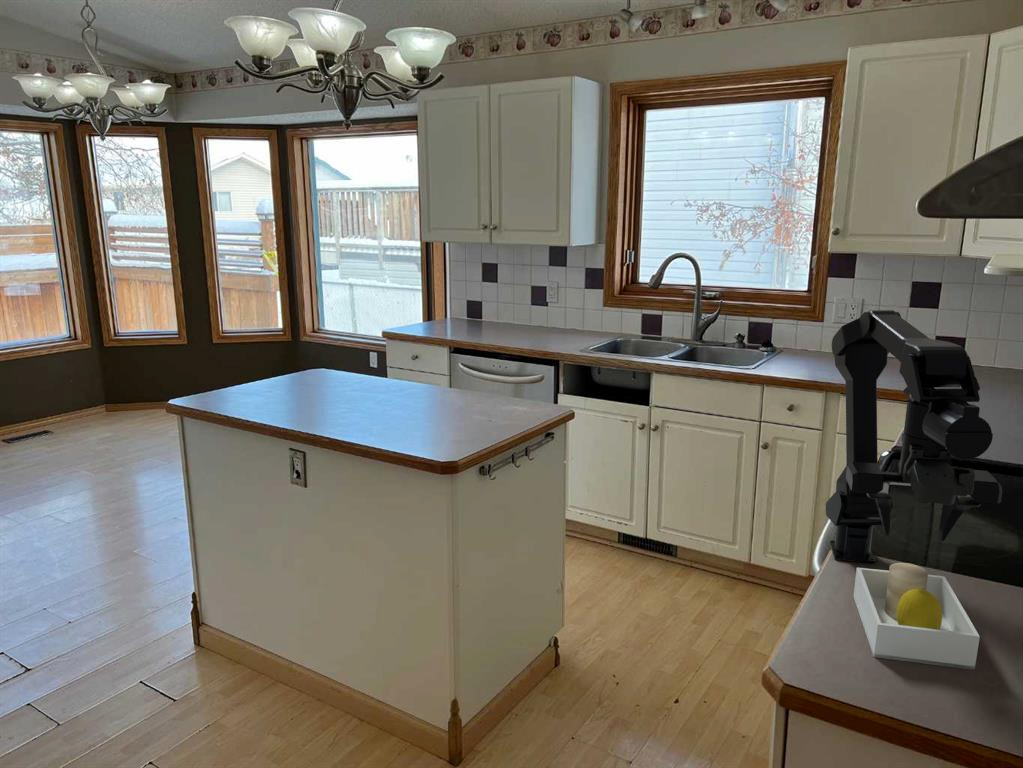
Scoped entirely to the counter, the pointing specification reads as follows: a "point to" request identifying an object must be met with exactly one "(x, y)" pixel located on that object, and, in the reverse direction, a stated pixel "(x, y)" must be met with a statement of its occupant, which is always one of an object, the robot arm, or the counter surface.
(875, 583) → the tote
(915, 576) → the birch peg
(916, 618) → the lemon
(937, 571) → the counter surface
